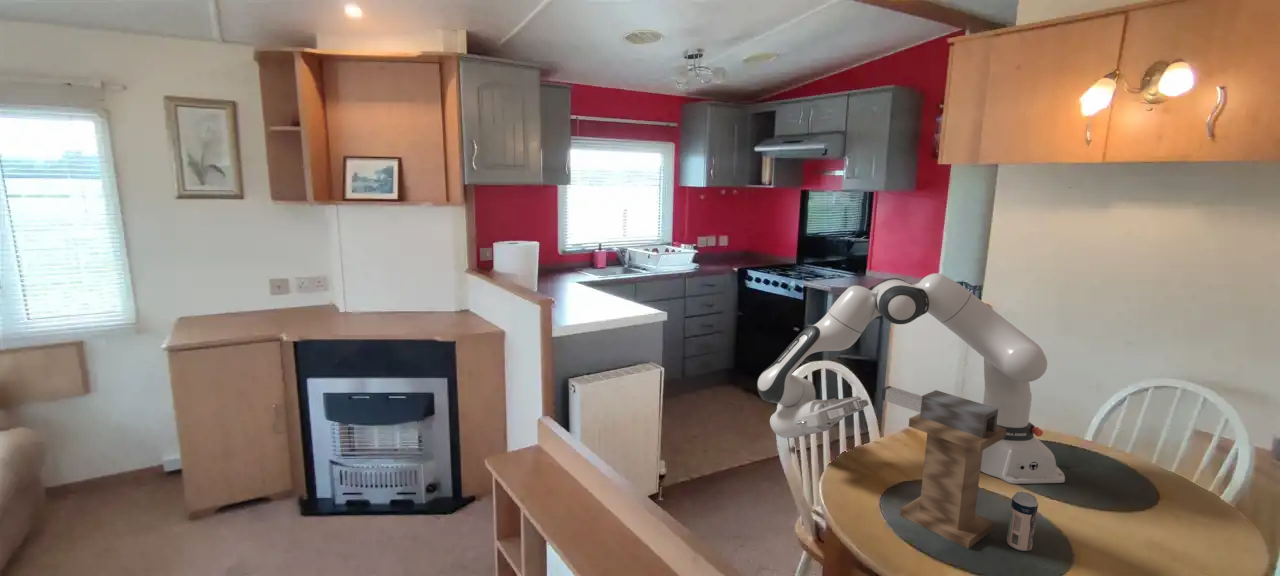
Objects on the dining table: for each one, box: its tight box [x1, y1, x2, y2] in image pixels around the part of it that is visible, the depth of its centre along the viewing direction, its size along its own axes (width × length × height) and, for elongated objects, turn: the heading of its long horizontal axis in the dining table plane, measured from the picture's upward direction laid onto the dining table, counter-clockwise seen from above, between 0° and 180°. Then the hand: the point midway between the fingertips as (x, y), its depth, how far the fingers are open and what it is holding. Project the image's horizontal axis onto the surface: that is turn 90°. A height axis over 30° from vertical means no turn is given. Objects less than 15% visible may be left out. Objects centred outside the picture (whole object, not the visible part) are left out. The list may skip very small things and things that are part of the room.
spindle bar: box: [880, 385, 923, 414], centre depth 142 cm, size 22×3×3 cm, turn 36°
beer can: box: [1006, 491, 1039, 552], centre depth 132 cm, size 5×5×12 cm
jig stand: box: [899, 389, 1006, 550], centre depth 139 cm, size 16×12×30 cm
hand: (856, 406), depth 158 cm, fingers open, 8 cm apart
